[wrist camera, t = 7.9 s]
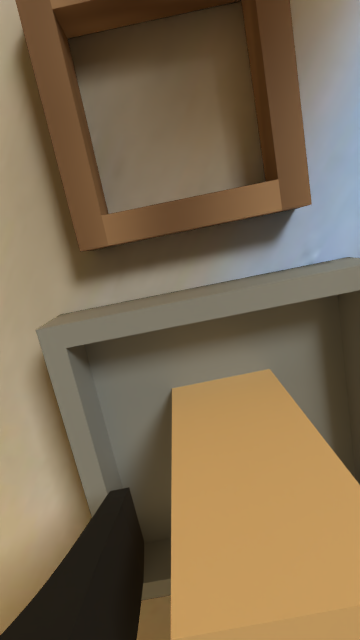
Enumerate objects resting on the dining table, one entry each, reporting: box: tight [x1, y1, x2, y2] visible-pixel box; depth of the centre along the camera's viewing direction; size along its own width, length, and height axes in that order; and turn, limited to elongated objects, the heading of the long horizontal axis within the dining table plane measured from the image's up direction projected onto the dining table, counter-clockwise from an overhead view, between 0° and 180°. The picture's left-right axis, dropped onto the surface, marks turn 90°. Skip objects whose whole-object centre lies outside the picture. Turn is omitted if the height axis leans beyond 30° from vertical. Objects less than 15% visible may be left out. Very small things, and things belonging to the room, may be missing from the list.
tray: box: [36, 257, 360, 600], centre depth 14 cm, size 12×12×2 cm
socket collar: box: [16, 0, 311, 251], centre depth 11 cm, size 8×8×2 cm
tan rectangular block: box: [171, 369, 360, 640], centre depth 10 cm, size 4×4×9 cm
